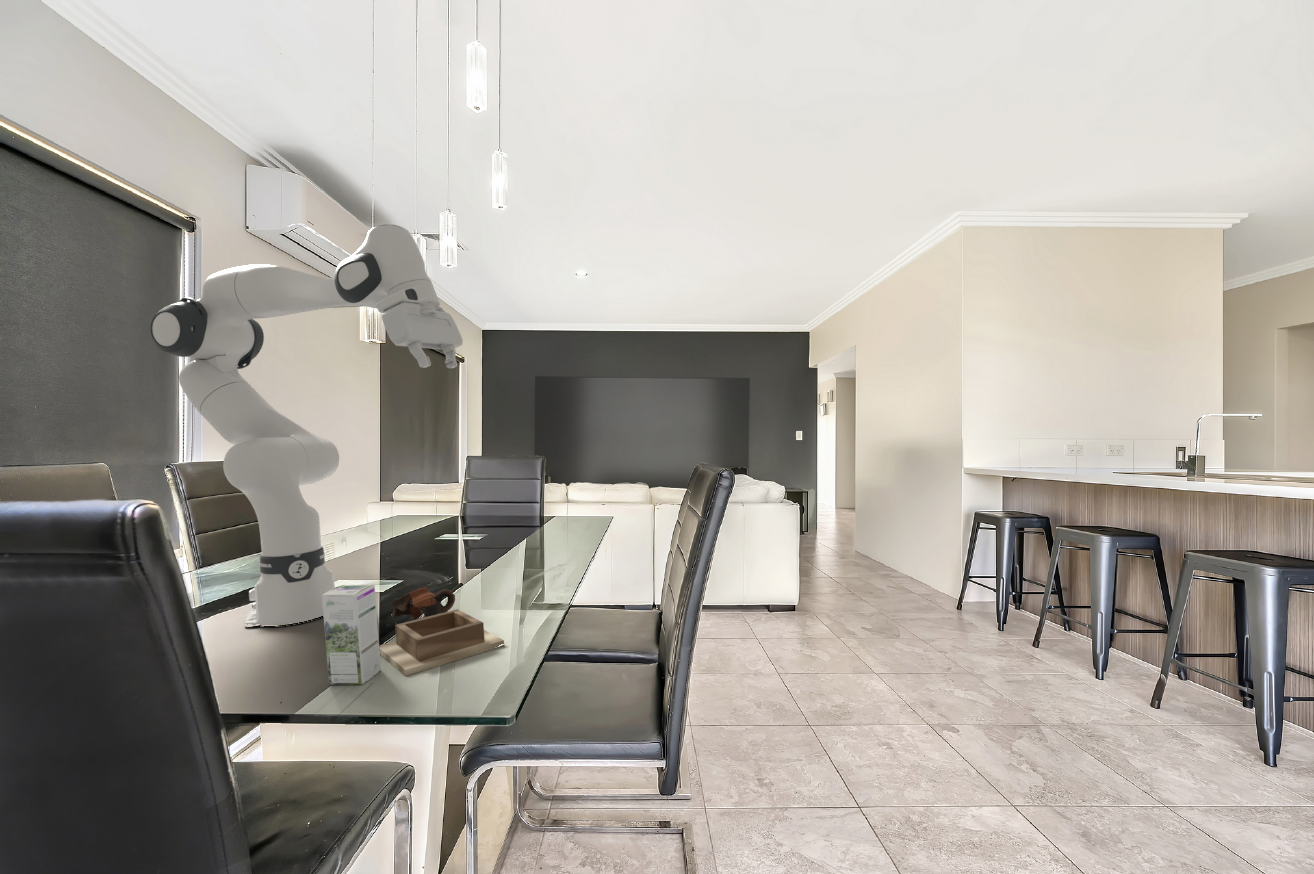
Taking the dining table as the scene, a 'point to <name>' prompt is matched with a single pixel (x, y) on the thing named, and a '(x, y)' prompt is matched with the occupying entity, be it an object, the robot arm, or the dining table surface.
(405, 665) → the board
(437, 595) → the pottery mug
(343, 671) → the syrup box
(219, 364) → the robot arm
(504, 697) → the dining table surface
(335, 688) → the dining table surface
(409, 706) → the dining table surface
